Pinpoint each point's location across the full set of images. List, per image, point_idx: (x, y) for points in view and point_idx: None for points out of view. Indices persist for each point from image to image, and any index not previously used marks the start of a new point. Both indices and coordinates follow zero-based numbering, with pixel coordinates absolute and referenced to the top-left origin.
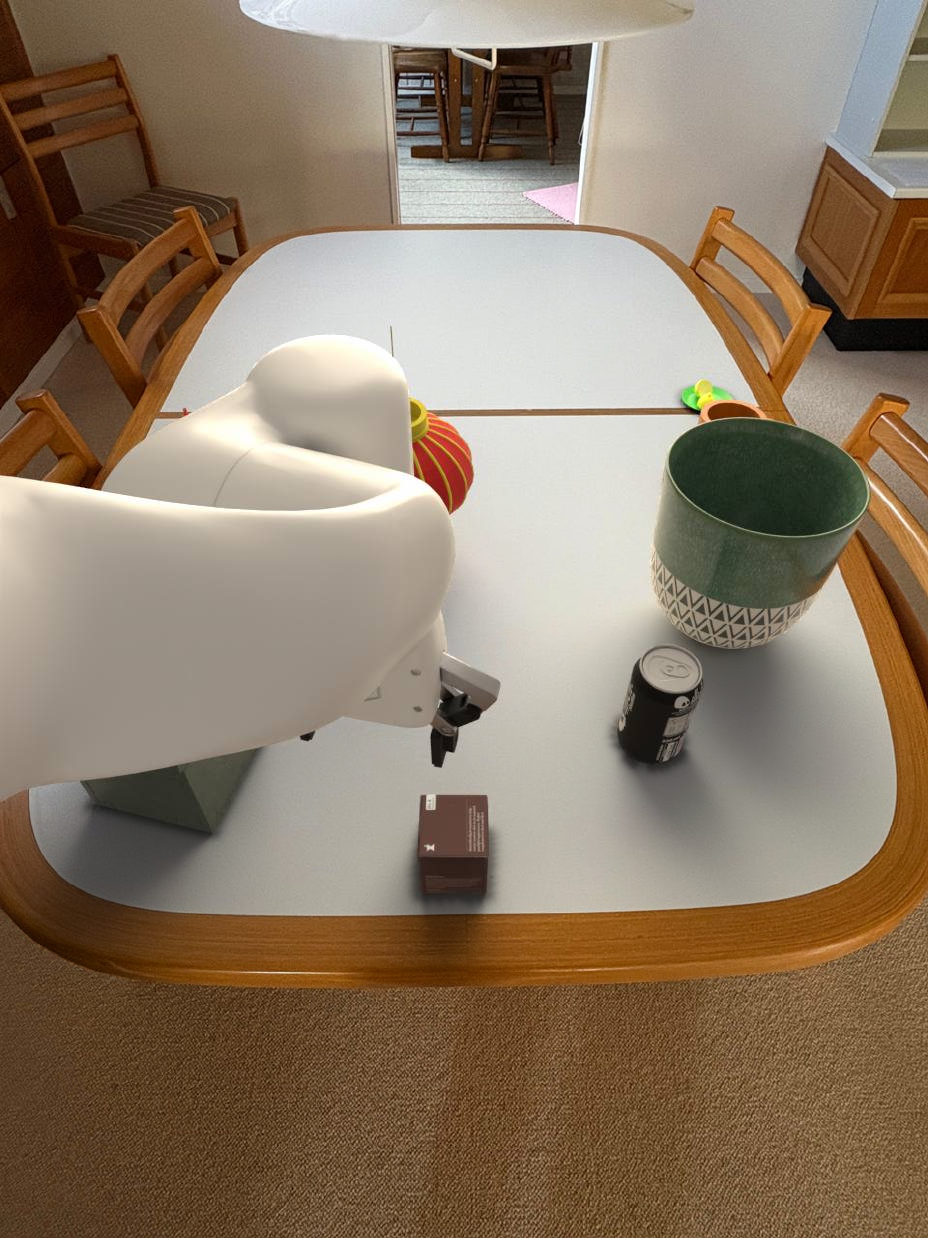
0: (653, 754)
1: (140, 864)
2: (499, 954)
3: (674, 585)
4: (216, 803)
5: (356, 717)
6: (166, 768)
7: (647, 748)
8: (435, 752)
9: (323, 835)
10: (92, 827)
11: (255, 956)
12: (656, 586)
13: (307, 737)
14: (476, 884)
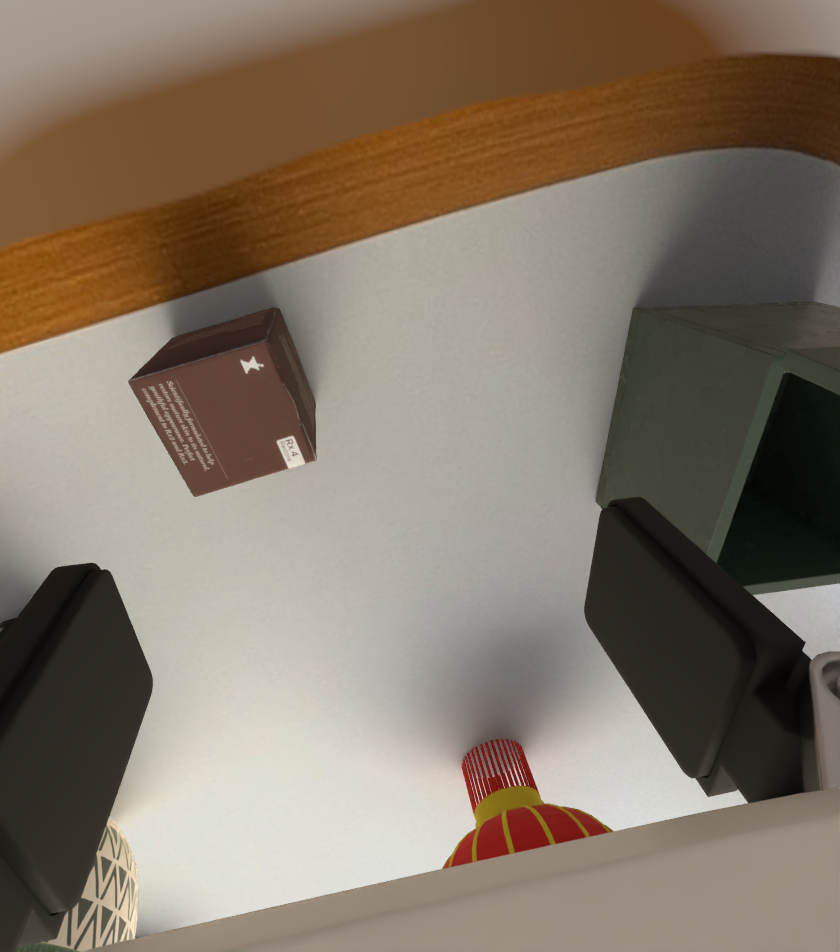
0: (2, 637)
1: (730, 225)
2: (97, 237)
3: None
4: (650, 349)
5: (445, 926)
6: (818, 350)
7: None
8: (19, 652)
9: (468, 356)
10: (811, 264)
11: (509, 112)
12: (98, 880)
13: (624, 513)
14: (178, 342)
